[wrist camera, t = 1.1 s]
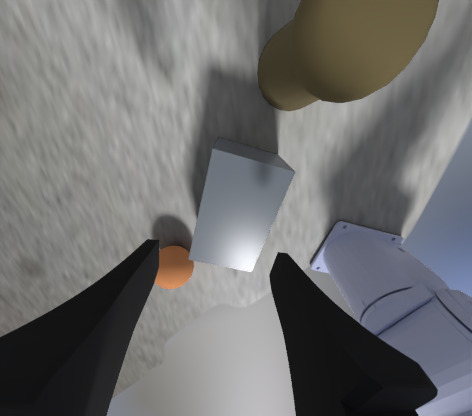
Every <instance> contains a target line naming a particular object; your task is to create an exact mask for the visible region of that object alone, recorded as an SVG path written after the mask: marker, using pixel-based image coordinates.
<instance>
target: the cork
mask: <svg viewBox="0 0 472 416" xmlns="http://www.w3.org/2000/svg"><path fill="white" fill-rule="evenodd" d="M438 2H439V0H301V2H300V4H299V7H298V9H297V11H296V14H295V18H294V19H293V20H291V21H290V22H289V23H288V24H287V25H285V26H284V27H283V28H282V29H281V30H279V31H278V32H277V33H276V34H275V35H273V37H272V38H271V39H270V41H269V42H268V43H267V44H266V46H265V47H264V50H263V52H262V55H261V57H260V60H259V66H258V81H259V87H260V89H261V92H262V94H263V96H264V98H265V99H266V100H267V101H268V102H269V104H270V105H272V106H273V107H275V108H277V109H279V110H284V111H293V110H297V109H301V108H303V107H305V106H307V105H309V104H311V103H313V102H315V101H317V100H319V99H320V100H322V101H328V102H335V103H345V102H349V101H354V100H358V99H362V98H364V97H366V96H368V95H370V94H371V93H373V92H375V91H377V90H379V89H380V88H382V87H384V86H386V85H387V84H389V83H390V82H391V81H392V80H393V79H394V78H395V77H396V76H397V75H398V74H399V73H400V72H401V71H403V70H404V69H405V67H406V66H407V65H408V63H409V62H410V61H411V59H412V58H413V57H414V55H415V54H416V52H417V51H418V49H419V48H420V47H421V45H422V44H423V42H424V41H425V39H426V36H427V34H428V32H429V30H430V27H431V25H432V23H433V21H434V18H435V16H436V11H437V7H438Z"/></svg>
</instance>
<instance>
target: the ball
mask: <svg viewBox="0 0 472 416" xmlns="http://www.w3.org/2000/svg"><path fill="white" fill-rule="evenodd" d="M189 254H190V253H189V252H188V251H187V250H186V249H185V248H183V247H180V246H168V247H165V248H163V249H161V250H160V251H159V269H158V272H157V276H156V279H155V283H156V284H157V285H159V286H160V287H162V288H166V289H174V288H177V287H180V286H182V285H183V284H185V283H186V282H187V281H188V280H189V278H190V277H191V275H192V272H193V268H194V262H193V260H188V259H189Z"/></svg>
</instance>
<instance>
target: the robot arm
mask: <svg viewBox="0 0 472 416" xmlns="http://www.w3.org/2000/svg"><path fill="white" fill-rule="evenodd" d="M344 225H345V226H344ZM343 226H344V227H343ZM403 241H404V238H403V237H401V236H398V235H394V234H390V233H386V232H382V231H378V230H374V229H370V228H366V227H362V226H358V225H355V224H351V223H347V222H343V221H339V222H337V223H336V224H335V226H334V228H333V229H332V231H331V233H330V234H329V236H328V237H327V239H326V241H325V242H324V244H323V246H322V247H321V249H320V250H319V252H318V254H317V255H316V257H315V258H314V260H313V262H312V263H311V265H310V267H311V269H312V270H316V271H321V272H326V273H330V274H331V276H332V278H333V279H334V281H335V283H336V284H337V286H338V288H339V289H340V291H341V293H342V295H343V296H344V298H345V299H346V301H347V303H348V304H349V306H350V308H351V310H352V311H353V313H354V315H355V316H356V318H357V320H358V321H359V323H360V324H359V323H358V322H357V321H356V320H354V319H353V318H352V317H351V316H349V315H348V314H347V313H345V312H344V311H343V310H342V309H341V308H340V307H338V306H337V305H336V304H335V303H334V302H333V301H332V300H331V299H330V298H329V297H328V296H327V295H325V294H324V293H323V292H322V291H321V290H320V289H319V288H318V287H317V286H316V284H314V283H313V281H312V280H311V279H310V278H309V277H308V276H307V275H306V274H305V273H304V272H303V270H302V269H301V268H300V267H299V266H298V265H297V264H296V263H295V261H294V260H293V259H292V258H291V257H290V256H289V255H288V254H287V253H279V252H278V254H277V256H276V259H275V262H274V264H273V267H272V270H271V272H270V275H269V276H270V284H271V290H272V294H273V298H274V301H275V305H276V308H277V312H278V316H279V319H280V323H281V326H282V330H283V334H284V339H285V345H286V350H287V356H288V361H289V368H290V374H291V381H292V388H293V395H294V403H295V411H296V416H472V298H471V297H470V296H468V295H466V294H465V293H463V292H461V291H458V290H452V289H449V287H448V286H447V285H446V283H445V282H444V281H443V280H442V279H441V278H440V277H439V276H437V275H436V274H435V273H434V272H433V271H431V270H430V269H429V268H428V267H426V266H425V265H424V264H423V263H421V262H420V261H419V260H418V259H417V258H415V257H414V256H413V255H412V254H410V253H409V252H408V251H407V250H405V249H404V248H403V247H402V246H401V244H402V242H403ZM158 269H159V240H150V239H148V240H146V241H145V242H144V243H143V244H142V245H141V246H140V247H138V248H137V249H136V250H135V251H134V252H133V253H132V254H131V255H130V256H128V257H127V258H126V259H125V260H124V261H122V262H121V263H120V264H119V265H118V266H116V267H115V268H114V269H113V270H111V271H110V272H109V273H107V274H106V275H105V276H104V277H102V278H101V279H100V280H98V281H97V282H95V283H94V284H93V285H91V286H90V287H88V288H87V289H85V290H84V291H82V292H81V293H79V294H78V295H76V296H74V297H73V298H71V299H70V300H68V301H66V302H65V303H63V304H61V305H60V306H58V307H56V308H55V309H53V310H51V311H50V312H48V313H46V314H44V315H42V316H41V317H39V318H37V319H35V320H33V321H31V322H29V323H27V324H26V325H24V326H22V327H20V328H18V329H16V330H14V331H12V332H10V333H8V334H6V335H4V336H2V337H0V416H106V415H107V412H108V408H109V404H110V401H111V398H112V395H113V392H114V389H115V386H116V382H117V379H118V376H119V373H120V370H121V367H122V364H123V360H124V357H125V354H126V351H127V348H128V345H129V342H130V340H131V337H132V334H133V331H134V328H135V326H136V323H137V321H138V319H139V316H140V314H141V312H142V310H143V307H144V305H145V303H146V301H147V298H148V296H149V294H150V291H151V289H152V287H153V284H154V282H155V279H156V276H157V272H158Z"/></svg>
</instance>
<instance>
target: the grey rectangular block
mask: <svg viewBox="0 0 472 416" xmlns="http://www.w3.org/2000/svg"><path fill="white" fill-rule="evenodd" d="M294 174H295V171H294V170H293V169H292V168H291V167H290V166H289V165H288V164H287V163H286V162H285V161H284V160H283V159H282V158H281V157H280V156H279V155H277V154H274V153H270V152H267V151H263V150H260V149H257V148H253V147H250V146H246V145H243V144H239V143H236V142H233V141H229V140H226V139H222V138H219V137H218V139H217V141H216V143H215V145H214V147H213V149H212V153H211V158H210V162H209V167H208V172H207V176H206V181H205V185H204V190H203V195H202V199H201V204H200V208H199V213H198V218H197V222H196V227H195V231H194V236H193V241H192V245H191V250H190V254H189V259H188V260H193V261H198V262H203V263H208V264H213V265H218V266H223V267H228V268H233V269H238V270H243V271H249V272H252V270H253V268H254V265H255V263H256V261H257V258H258V256H259V254H260V252H261V249H262V247H263V245H264V242H265V240H266V238H267V236H268V233H269V231H270V229H271V226H272V224H273V222H274V219H275V217H276V215H277V213H278V210H279V208H280V206H281V203H282V201H283V199H284V197H285V194H286V192H287V190H288V187H289V185H290V183H291V181H292V178H293V176H294Z"/></svg>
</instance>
